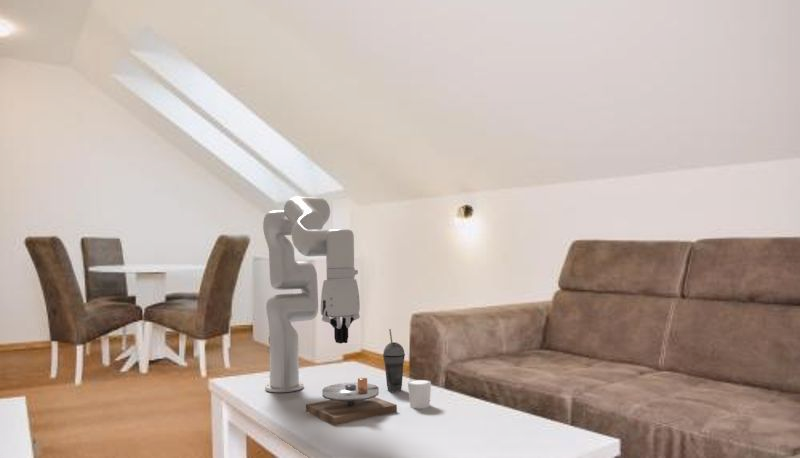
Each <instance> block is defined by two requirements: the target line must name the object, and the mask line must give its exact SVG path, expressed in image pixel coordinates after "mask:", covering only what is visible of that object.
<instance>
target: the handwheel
mask: <svg viewBox="0 0 800 458" xmlns="http://www.w3.org/2000/svg"><path fill="white" fill-rule="evenodd" d="M379 389H380V388H379V386H377V385H375V384H373V383H368V378H367V377H359V378H357V382H342V383H335V384H331V385H327V386H325V387H323V388H322V391H321V392H322V393H321V394H322V397H323V398H324V399H326V400H333V401H360V400H366V399H370V398H373V397H376V398H377V396H378V395H379V393H380V392H379V391H380V390H379Z"/></svg>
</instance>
